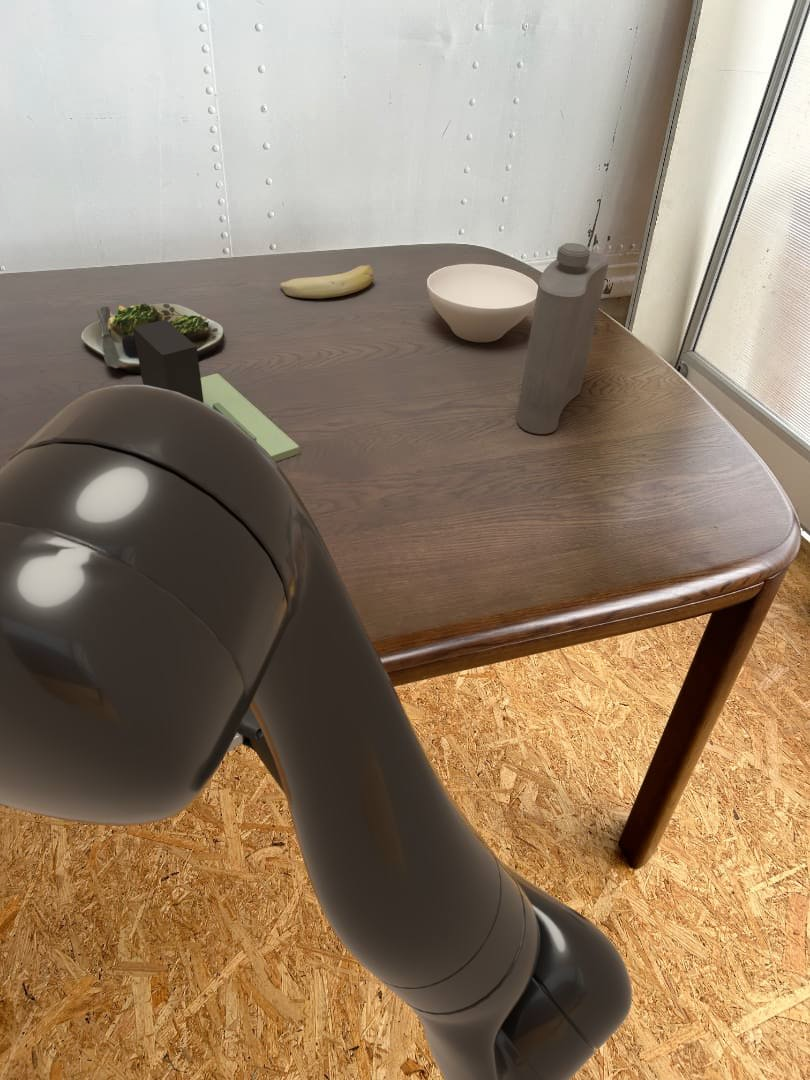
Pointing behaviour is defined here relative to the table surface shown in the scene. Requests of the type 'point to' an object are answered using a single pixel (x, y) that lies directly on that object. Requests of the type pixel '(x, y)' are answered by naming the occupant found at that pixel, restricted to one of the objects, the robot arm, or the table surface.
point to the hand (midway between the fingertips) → (227, 620)
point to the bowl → (481, 299)
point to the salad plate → (117, 334)
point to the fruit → (329, 284)
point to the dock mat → (202, 384)
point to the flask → (560, 336)
